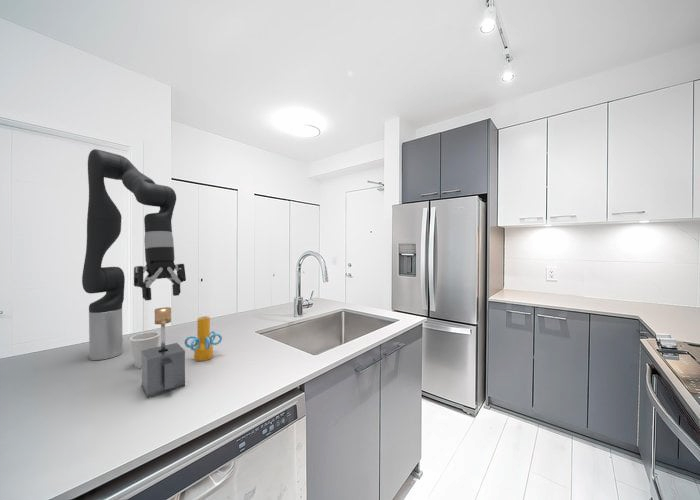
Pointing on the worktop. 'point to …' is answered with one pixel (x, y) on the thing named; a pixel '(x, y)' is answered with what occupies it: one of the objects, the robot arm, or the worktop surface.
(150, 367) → the frame
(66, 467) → the worktop surface
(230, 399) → the worktop surface
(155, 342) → the dixie cup
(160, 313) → the plunger
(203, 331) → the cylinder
